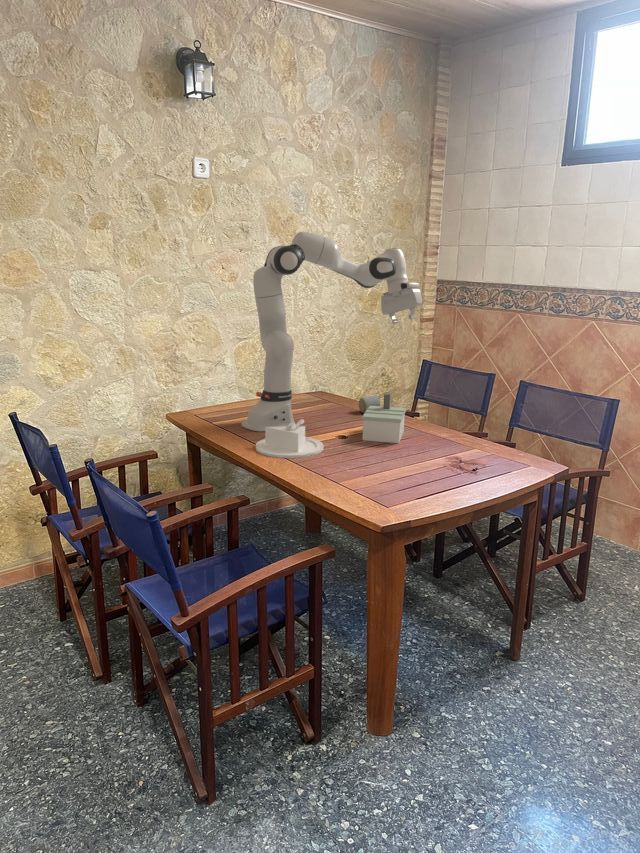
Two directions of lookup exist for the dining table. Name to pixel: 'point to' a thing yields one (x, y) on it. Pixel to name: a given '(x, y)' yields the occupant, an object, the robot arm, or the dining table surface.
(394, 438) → the tub
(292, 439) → the dish
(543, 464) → the dining table surface
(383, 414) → the lid
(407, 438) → the dining table surface
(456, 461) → the cloth
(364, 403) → the ceramic mug
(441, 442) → the dining table surface
